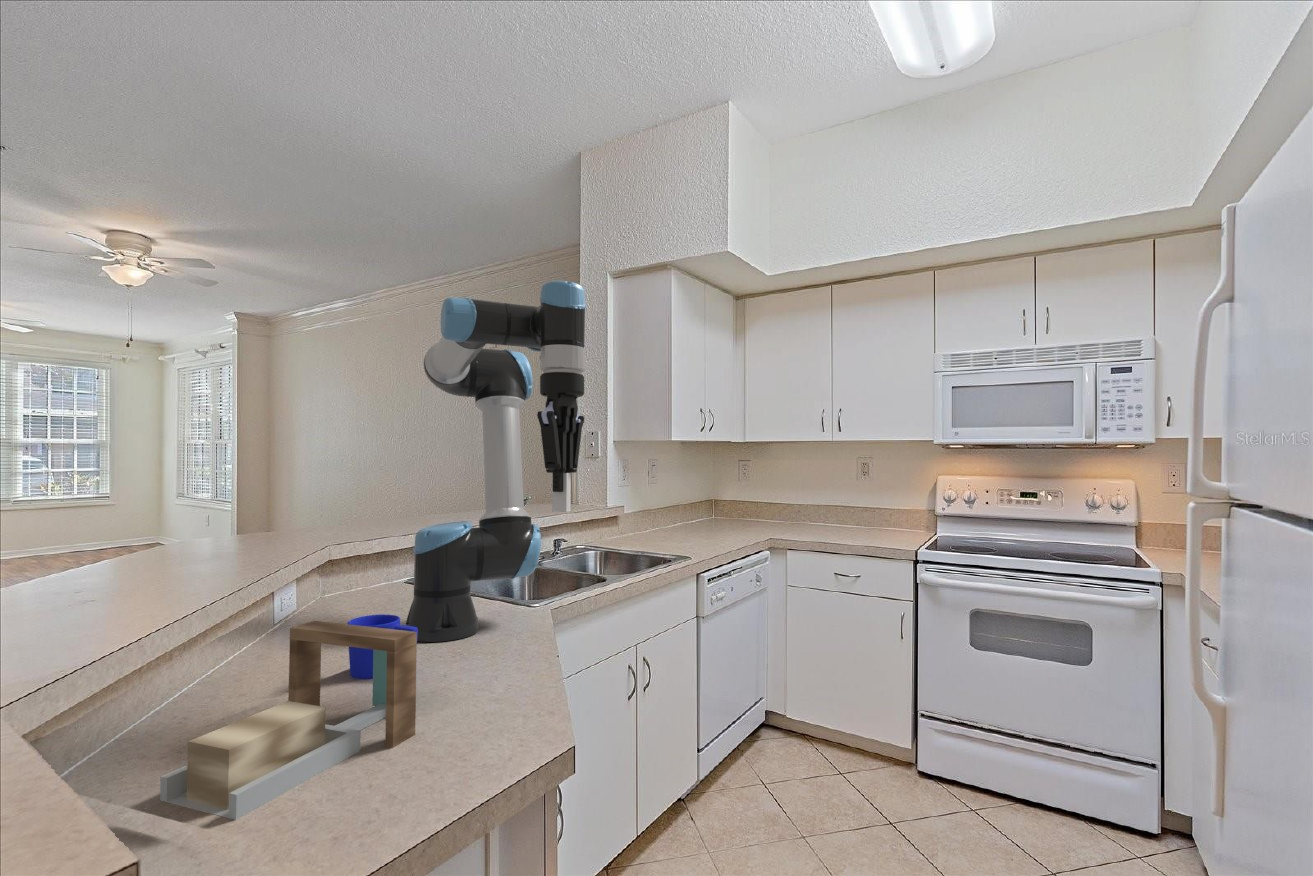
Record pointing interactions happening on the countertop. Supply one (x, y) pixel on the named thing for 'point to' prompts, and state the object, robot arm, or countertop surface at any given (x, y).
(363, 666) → the mug
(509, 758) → the countertop surface
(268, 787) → the sled
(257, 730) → the bar
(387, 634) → the tunnel
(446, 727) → the countertop surface
